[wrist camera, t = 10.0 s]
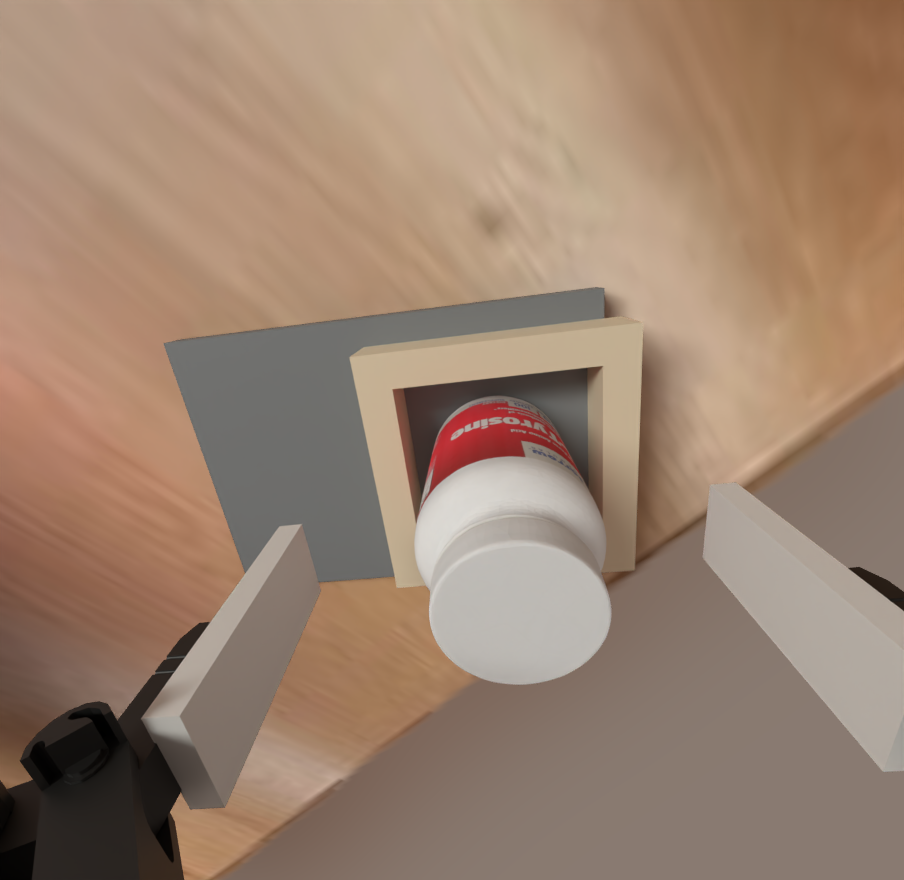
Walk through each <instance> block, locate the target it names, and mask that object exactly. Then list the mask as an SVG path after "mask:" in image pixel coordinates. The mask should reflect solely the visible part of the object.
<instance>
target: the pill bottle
mask: <svg viewBox="0 0 904 880" xmlns="http://www.w3.org/2000/svg"><path fill="white" fill-rule="evenodd" d="M414 548H415V558H416V563H417V566H418V570H419V572H420V574H421V577H422V579H423V581H424V583H425V584H426V586H427V588H428V589H429V590H430V605H429V618H430V625H431V629H432V632H433V635H434V637H435V640H436V642H437V643H438V645H439V647H440V648H441V649H442V651H443V652H444V653H445V655H446V656H447V657H448V658H449V659H450V660H451V661H452V662H454V663H455V664H456V665H457V666H459V667H460V668H462V669H463V670H465V671H466V672H468V673H470V674H472V675H474V676H477V677H479V678H482V679H485V680H488V681H492V682H496V683H503V684H516V685H522V684H523V685H524V684H534V683H541V682H545V681H549V680H553V679H556V678H559V677H561V676H564V675H567V674H569V673H570V672H572V671H574V670H576V669H577V668H579V667H580V666H582V665H583V664H585V663H586V662H587V661H588V660H589V659H590V658H591V657H592V656H593V655H594V654H595V653H596V652H597V651H598V650H599V649H600V647H601V645H602V644H603V642H604V640H605V639H606V637H607V634H608V631H609V628H610V623H611V602H610V597H609V593H608V590H607V588H606V585H605V582H604V579H603V576H602V573H601V570H602V568H603V564H604V560H605V554H606V533H605V527H604V523H603V519H602V517H601V514H600V511H599V509H598V507H597V505H596V503H595V501H594V498H593V496H592V495H591V493H590V491H589V489H588V487H587V486H586V484H585V482H584V480H583V478H582V476H581V475H580V473H579V471H578V469H577V467H576V465H575V463H574V461H573V460H572V458H571V456H570V454H569V452H568V450H567V448H566V447H565V445H564V443H563V441H562V439H561V437H560V435H559V434H558V432H557V430H556V428H555V427H554V425H553V424H552V422H551V421H550V419H549V418H548V417H547V416H546V415H545V414H544V413H543V412H542V411H541V410H539V409H538V408H537V407H535V406H534V405H532V404H530V403H528V402H526V401H524V400H521V399H518V398H514V397H509V396H488V397H482V398H479V399H476V400H473V401H470V402H468V403H466V404H464V405H463V406H461V407H460V408H458V409H457V410H456V411H455V412H453V413H452V414H451V415H450V416H449V417H448V419H447V420H446V421H445V422H444V424H443V426H442V427H441V429H440V431H439V433H438V436H437V438H436V441H435V445H434V448H433V452H432V457H431V461H430V465H429V470H428V474H427V478H426V483H425V487H424V492H423V495H422V501H421V505H420V510H419V513H418V517H417V523H416V530H415V538H414Z"/></svg>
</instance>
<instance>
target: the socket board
mask: <svg viewBox="0 0 904 880" xmlns="http://www.w3.org/2000/svg"><path fill="white" fill-rule="evenodd" d="M164 346H165V349H166V352H167V355H168V357H169V360H170V363H171V366H172V369H173V371H174V374H175V377H176V380H177V383H178V385H179V388H180V391H181V394H182V397H183V400H184V402H185V405H186V408H187V411H188V414H189V416H190V419H191V422H192V425H193V428H194V430H195V433H196V436H197V439H198V442H199V444H200V447H201V450H202V453H203V456H204V459H205V461H206V464H207V467H208V470H209V473H210V475H211V478H212V481H213V484H214V487H215V489H216V492H217V495H218V498H219V501H220V503H221V506H222V509H223V512H224V515H225V518H226V520H227V523H228V526H229V529H230V532H231V534H232V537H233V540H234V543H235V546H236V548H237V551H238V554H239V557H240V560H241V562H242V565H243V568H244V571H245V573H246V572H247V571H248V569H249V568H250V566H251V565H252V564H253V562H254V561H255V560H256V558H257V557H258V555H259V554H260V553H261V551H262V550H263V548H264V547H265V546H266V544H267V543H268V541H269V540H270V539H271V537H272V536H273V535H274V533H275V532H276V530H277V529H278V528H279V526H287V525H298V524H302V527H303V530H304V534H305V537H306V541H307V544H308V548H309V551H310V554H311V558H312V561H313V565H314V568H315V572H316V575H317V579H318V582H328V581H342V580H355V579H368V578H381V577H395V580H396V585H397V588H402V587H416V586H426V584H425V583H424V581H423V579H422V577H421V574H420V572H419V570H418V566H417V563H416V558H415V548H414V538H415V530H416V523H417V517H418V513H419V510H420V505H421V501H422V495H423V492H424V487H425V483H426V478H427V474H428V470H429V465H430V461H431V457H432V452H433V448H434V445H435V441H436V438H437V436H438V433H439V431H440V429H441V427H442V426H443V424H444V422H445V421H446V420H447V419H448V417H449V416H450V415H451V414H452V413H453V412H455V411H456V410H457V409H458V408H460V407H461V406H463V405H464V404H466V403H468V402H470V401H473V400H476V399H479V398H482V397H488V396H509V397H514V398H518V399H521V400H524V401H526V402H528V403H530V404H532V405H534V406H535V407H537V408H538V409H539V410H541V411H542V412H543V413H544V414H545V415H546V416H547V417H548V418H549V419H550V421H551V422H552V424H553V425H554V427H555V428H556V430H557V432H558V434H559V435H560V437H561V439H562V441H563V443H564V445H565V447H566V448H567V450H568V452H569V454H570V456H571V458H572V460H573V461H574V463H575V465H576V467H577V469H578V471H579V473H580V475H581V476H582V478H583V480H584V482H585V484H586V486H587V487H588V489H589V491H590V493H591V495H592V496H593V498H594V501H595V503H596V505H597V507H598V509H599V511H600V514H601V517H602V519H603V523H604V527H605V533H606V554H605V560H604V564H603V568H602V570H601V573H607V572H620V571H634V570H635V553H636V524H637V494H638V465H639V436H640V407H641V378H642V349H643V322H640V321H637V320H633V319H630V318H626V317H623V316H620V317H611V318H604V288H598V287H595V288H587V289H579V290H571V291H563V292H555V293H547V294H539V295H531V296H524V297H516V298H508V299H500V300H492V301H484V302H476V303H468V304H460V305H452V306H444V307H436V308H428V309H420V310H412V311H404V312H396V313H388V314H380V315H372V316H364V317H356V318H348V319H340V320H333V321H325V322H317V323H309V324H301V325H293V326H285V327H277V328H269V329H261V330H253V331H245V332H237V333H229V334H221V335H213V336H205V337H197V338H189V339H181V340H176V341H172V342H168V343H164Z"/></svg>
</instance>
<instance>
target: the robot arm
mask: <svg viewBox="0 0 904 880" xmlns="http://www.w3.org/2000/svg"><path fill="white" fill-rule="evenodd" d="M703 559H704V560H705V562H706V563H707V564H708V565H709V566H710V567H711V569H712V570H713V571H714V572H715V573H716V574H717V576H718V577H719V578H720V579H721V580H722V582H723V583H724V584H725V585H726V586H727V588H728V589H729V590H730V591H731V592H732V594H733V595H734V596H735V597H736V598H737V599H738V601H739V602H740V603H741V604H742V605H743V606H744V608H745V609H746V610H747V611H748V612H749V614H750V615H751V616H752V617H753V618H754V619H755V621H756V622H757V623H758V624H759V626H760V627H761V628H762V629H763V630H764V631H765V632H766V634H767V635H768V636H769V637H770V638H771V640H772V641H773V642H774V643H775V644H776V646H777V647H778V648H779V649H780V650H781V652H782V653H783V654H784V655H785V656H786V657H787V659H788V660H789V661H790V662H791V663H792V664H793V666H794V667H795V668H796V669H797V671H798V672H799V673H800V674H801V675H802V676H803V678H804V679H805V680H806V681H807V682H808V684H809V685H810V686H811V687H812V688H813V690H814V691H815V692H816V693H817V694H818V695H819V697H820V698H821V699H822V700H823V701H824V703H825V704H826V705H827V706H828V707H829V708H830V710H831V711H832V712H833V713H834V714H835V715H836V717H837V718H838V719H839V720H840V721H841V723H842V724H843V725H844V726H845V727H846V729H847V730H848V731H849V732H850V733H851V734H852V736H853V737H854V738H855V739H856V740H857V742H858V743H859V744H860V745H861V746H862V747H863V749H864V750H865V751H866V752H867V753H868V755H869V756H870V757H871V758H872V759H873V761H874V762H875V763H876V764H877V765H878V767H879V768H880V769H881V770H882V771H883V772H892V771H904V592H903V591H902V590H900V589H899V588H898V587H896V586H895V585H893V584H892V583H891V582H889V581H888V580H886V579H884V578H882V577H879V576H877V575H875V574H873V573H871V572H869V571H867V570H864V569H862V568H860V567H856V568H847V567H845V566H844V565H843V564H842V563H840V562H839V561H838V560H836V559H835V558H834V557H832V556H831V555H830V554H828V553H827V552H826V551H825V550H823V549H822V548H821V547H819V546H818V545H817V544H815V543H814V542H813V541H811V540H810V539H809V538H808V537H806V536H805V535H804V534H802V533H801V532H800V531H798V530H797V529H796V528H795V527H793V526H792V525H791V524H789V523H788V522H787V521H785V520H784V519H783V518H781V517H780V516H779V515H777V514H776V513H775V512H774V511H772V510H771V509H770V508H768V507H767V506H766V505H764V504H763V503H762V502H760V501H759V500H758V499H757V498H755V497H754V496H753V495H751V494H750V493H749V492H748V491H746V490H745V489H744V488H742V487H741V486H740V485H738V484H737V483H736V482H734V483H723V484H713V485H710V491H709V500H708V510H707V520H706V530H705V539H704V549H703ZM320 592H321V589H320V586H319V582H318V579H317V575H316V572H315V568H314V565H313V561H312V558H311V554H310V551H309V548H308V544H307V541H306V537H305V534H304V530H303V527H302V524H298V525H287V526H279V528H278V529H277V530H276V532H275V533H274V535H273V536H272V537H271V539H270V540H269V541H268V543H267V544H266V546H265V547H264V548H263V550H262V551H261V553H260V554H259V555H258V557H257V558H256V560H255V561H254V562H253V564H252V565H251V566H250V568H249V569H248V571H247V572H246V573H245V575H244V576H243V578H242V579H241V580H240V582H239V583H238V585H237V586H236V587H235V589H234V590H233V591H232V593H231V594H230V596H229V597H228V598H227V600H226V601H225V603H224V604H223V605H222V607H221V608H220V610H219V611H218V612H217V614H216V615H215V616H214V618H213V619H212V621H211V622H205V623H199V624H198V625H196V626H195V627H194V628H193V629H192V630H190V631H189V632H188V633H187V634H186V635H184V636H183V637H182V638H181V639H180V640H179V641H178V642H177V644H176V645H175V646H174V648H173V649H172V650H171V652H170V653H169V654H168V655H167V659H166V660H164V661H163V662H162V663H161V665H160V666H159V667H158V668H157V670H156V671H155V672H156V673H155V675H152V676H151V678H150V679H149V680H148V681H147V683H146V684H145V685H144V687H143V688H142V689H141V691H140V692H139V693H138V694H137V696H136V697H135V698H134V700H133V701H132V702H131V704H130V705H129V706H128V707H127V709H126V710H125V711H124V713H123V714H122V715H121V717H120V718H119V719H118V720H117V719H116V718H115V716H114V714H113V712H112V711H111V709H110V707H109V705H108V704H106V703H102V702H93V703H87V704H83V705H81V706H79V707H76V708H74V709H72V710H69V711H68V712H66V713H64V714H63V715H61V716H60V717H58V718H56V719H55V720H53V721H52V722H51V723H49V724H48V725H47V726H46V727H45V728H44V729H42V730H41V731H40V732H39V733H38V734H37V735H36V736H35V737H34V738H33V740H32V741H31V742H30V743H29V745H28V746H27V747H26V748H25V750H24V753H23V755H22V757H21V760H20V762H21V763H22V765H23V766H24V768H25V769H26V770H27V772H28V773H29V774H30V776H31V777H32V779H33V780H31V781H29V782H26V783H23V784H20V785H17V786H15V787H12V788H9V789H6V787H5V786H4V785H3V783H2V782H1V781H0V880H184V876H183V870H182V864H181V857H180V851H179V845H178V839H177V833H176V827H175V821H174V819H173V817H172V815H171V813H170V811H171V809H172V807H173V805H174V803H175V801H176V800H177V798H178V796H179V794H180V792H181V793H182V795H183V797H184V799H185V801H186V802H187V804H188V806H189V808H190V809H206V808H225V806H226V804H227V802H228V800H229V797H230V795H231V793H232V790H233V788H234V786H235V784H236V781H237V779H238V777H239V775H240V772H241V770H242V768H243V766H244V763H245V761H246V759H247V757H248V754H249V752H250V750H251V748H252V745H253V743H254V741H255V739H256V736H257V734H258V732H259V730H260V727H261V725H262V723H263V721H264V718H265V716H266V714H267V711H268V709H269V707H270V705H271V702H272V700H273V698H274V696H275V693H276V691H277V689H278V687H279V684H280V682H281V680H282V678H283V675H284V673H285V671H286V669H287V666H288V664H289V662H290V660H291V657H292V655H293V653H294V651H295V648H296V646H297V644H298V642H299V639H300V637H301V635H302V632H303V630H304V628H305V626H306V623H307V621H308V619H309V617H310V614H311V612H312V610H313V608H314V605H315V603H316V601H317V599H318V596H319V594H320Z"/></svg>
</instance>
